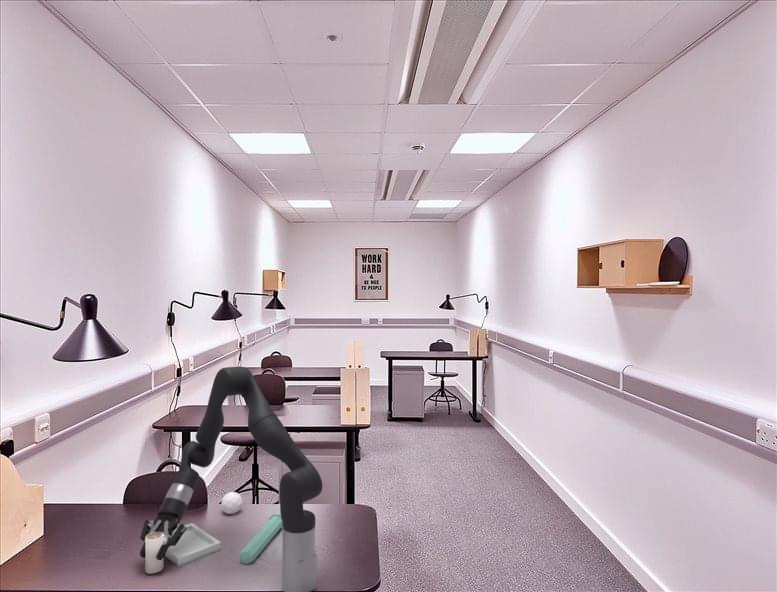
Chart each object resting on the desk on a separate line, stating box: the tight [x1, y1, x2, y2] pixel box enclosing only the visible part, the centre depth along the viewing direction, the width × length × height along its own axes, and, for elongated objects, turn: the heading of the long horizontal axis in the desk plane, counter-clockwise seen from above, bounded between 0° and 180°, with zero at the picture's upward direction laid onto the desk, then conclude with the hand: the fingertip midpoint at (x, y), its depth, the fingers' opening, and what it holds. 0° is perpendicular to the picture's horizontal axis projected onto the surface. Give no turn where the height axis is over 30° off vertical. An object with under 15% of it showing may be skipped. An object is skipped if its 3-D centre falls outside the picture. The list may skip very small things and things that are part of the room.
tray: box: [164, 522, 222, 568], centre depth 162 cm, size 20×14×2 cm
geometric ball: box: [220, 491, 243, 515], centre depth 189 cm, size 8×8×8 cm
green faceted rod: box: [239, 513, 283, 565], centre depth 164 cm, size 6×6×25 cm
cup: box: [144, 532, 165, 574], centre depth 148 cm, size 5×5×10 cm
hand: (150, 558), depth 146 cm, fingers closed on cup, 5 cm apart
